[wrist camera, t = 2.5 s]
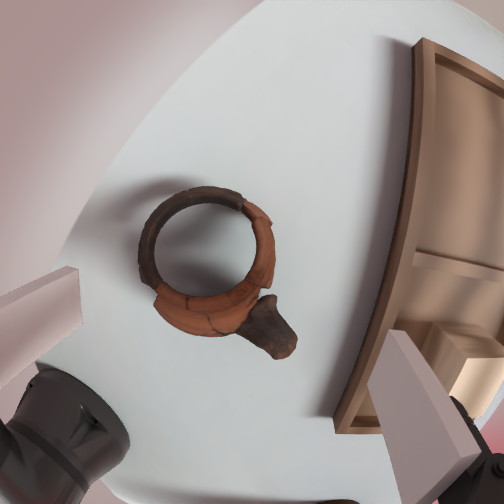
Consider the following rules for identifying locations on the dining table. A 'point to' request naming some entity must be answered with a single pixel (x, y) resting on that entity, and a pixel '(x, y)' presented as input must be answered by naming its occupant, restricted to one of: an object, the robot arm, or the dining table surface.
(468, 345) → the beech block
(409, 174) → the walnut tray
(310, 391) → the dining table surface
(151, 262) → the pottery mug
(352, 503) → the olive oil
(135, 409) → the dining table surface
